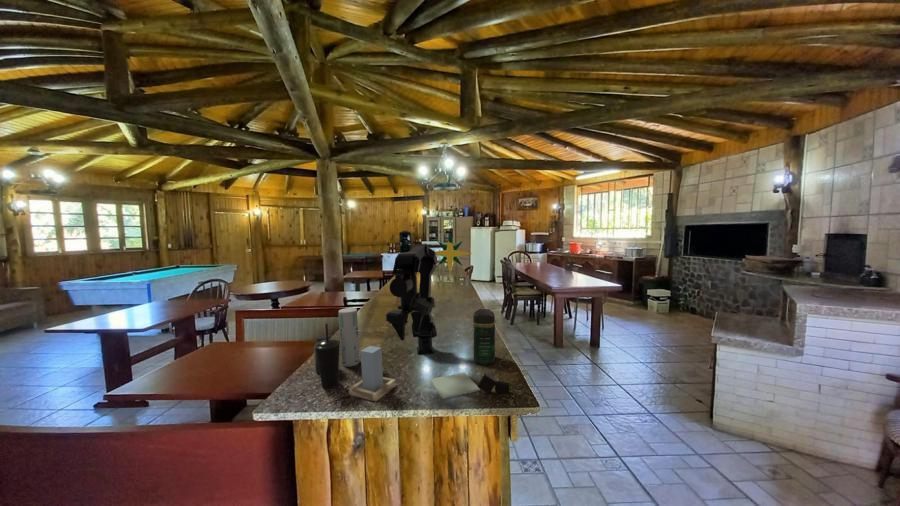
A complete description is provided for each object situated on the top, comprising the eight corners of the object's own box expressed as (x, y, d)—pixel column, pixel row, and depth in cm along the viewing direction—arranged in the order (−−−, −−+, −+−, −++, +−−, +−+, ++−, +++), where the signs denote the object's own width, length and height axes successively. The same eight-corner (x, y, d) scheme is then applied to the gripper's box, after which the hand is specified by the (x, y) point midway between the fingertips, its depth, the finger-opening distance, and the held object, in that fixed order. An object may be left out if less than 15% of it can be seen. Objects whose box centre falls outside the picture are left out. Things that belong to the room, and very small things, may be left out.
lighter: (501, 398, 100) (511, 383, 100) (502, 402, 98) (513, 386, 97) (477, 383, 100) (487, 368, 99) (477, 387, 98) (487, 371, 97)
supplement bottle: (339, 366, 119) (338, 334, 118) (327, 375, 113) (325, 341, 111) (324, 364, 121) (322, 332, 120) (310, 372, 115) (308, 339, 114)
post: (371, 385, 105) (369, 345, 103) (383, 388, 103) (381, 347, 102) (362, 392, 101) (360, 350, 99) (374, 395, 99) (372, 352, 98)
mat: (430, 381, 107) (430, 379, 107) (464, 374, 111) (464, 372, 111) (442, 399, 95) (442, 397, 95) (480, 390, 100) (480, 388, 100)
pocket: (370, 380, 108) (370, 374, 108) (395, 385, 104) (395, 379, 104) (349, 394, 99) (348, 388, 99) (376, 401, 95) (375, 394, 95)
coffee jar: (495, 365, 117) (495, 314, 115) (473, 365, 118) (472, 314, 116) (495, 354, 126) (494, 307, 124) (474, 354, 127) (473, 307, 125)
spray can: (359, 365, 120) (356, 311, 118) (340, 367, 118) (337, 313, 116) (359, 358, 126) (357, 307, 124) (342, 360, 124) (339, 308, 122)
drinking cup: (327, 393, 100) (323, 329, 99) (312, 387, 104) (308, 325, 103) (347, 382, 107) (344, 322, 105) (332, 377, 111) (328, 319, 109)
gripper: (414, 298, 99) (415, 348, 100) (442, 286, 115) (443, 330, 117) (383, 295, 104) (385, 343, 105) (415, 285, 120) (416, 326, 122)
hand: (410, 335), depth 112 cm, fingers open, 9 cm apart
